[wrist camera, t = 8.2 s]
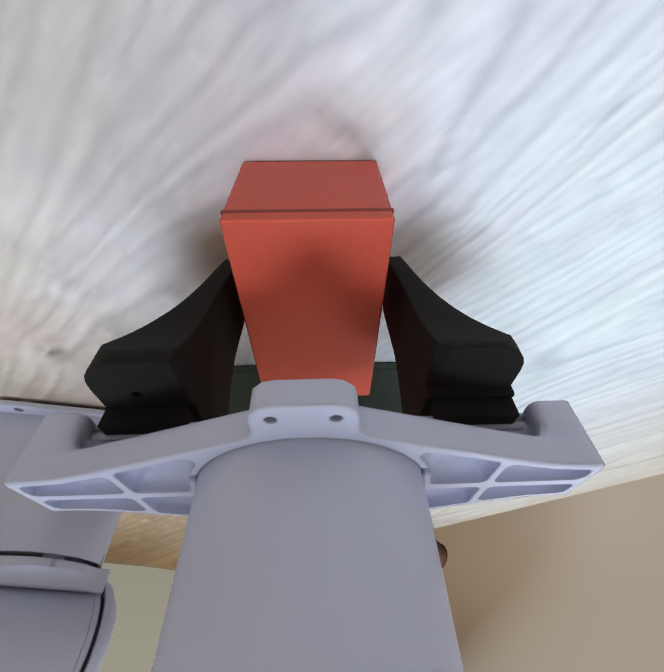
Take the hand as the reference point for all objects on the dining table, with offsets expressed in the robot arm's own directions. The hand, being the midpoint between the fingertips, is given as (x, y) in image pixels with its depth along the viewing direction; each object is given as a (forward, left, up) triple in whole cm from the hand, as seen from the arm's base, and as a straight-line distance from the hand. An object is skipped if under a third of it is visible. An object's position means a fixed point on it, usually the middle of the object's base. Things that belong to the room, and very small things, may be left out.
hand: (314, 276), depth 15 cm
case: (0, 0, -1) cm, 1 cm away
